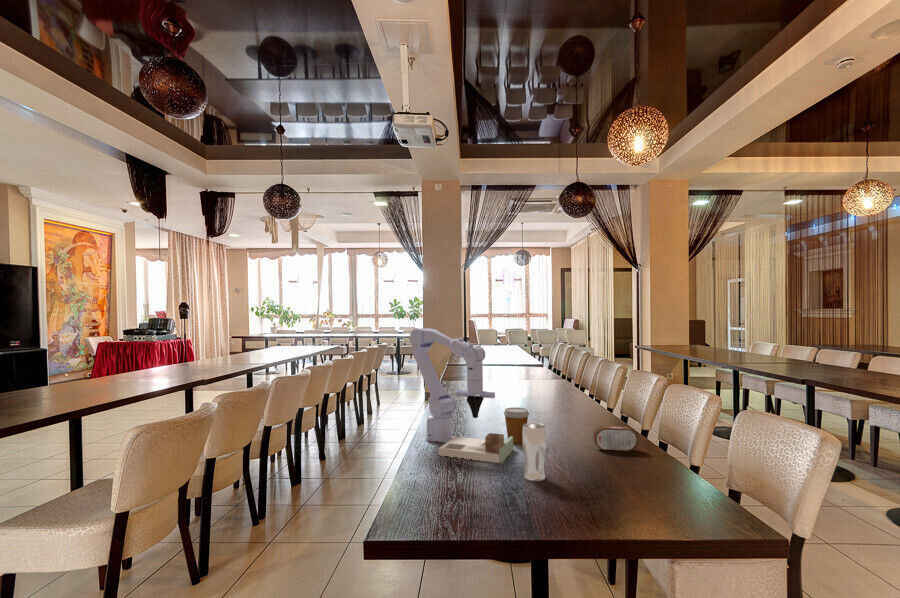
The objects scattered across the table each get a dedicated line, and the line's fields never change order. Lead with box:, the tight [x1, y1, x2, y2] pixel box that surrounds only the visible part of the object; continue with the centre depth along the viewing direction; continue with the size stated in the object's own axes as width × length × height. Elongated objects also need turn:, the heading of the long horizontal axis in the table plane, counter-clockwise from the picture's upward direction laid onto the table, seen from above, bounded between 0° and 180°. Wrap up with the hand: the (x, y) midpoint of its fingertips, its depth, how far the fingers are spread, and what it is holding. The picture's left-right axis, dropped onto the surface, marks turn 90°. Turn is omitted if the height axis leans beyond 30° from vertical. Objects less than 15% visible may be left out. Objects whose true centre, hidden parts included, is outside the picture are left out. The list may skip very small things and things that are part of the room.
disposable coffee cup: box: [503, 407, 530, 445], centre depth 169 cm, size 10×10×12 cm
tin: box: [592, 425, 639, 452], centre depth 159 cm, size 15×3×8 cm, turn 84°
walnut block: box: [484, 432, 505, 454], centre depth 149 cm, size 5×5×5 cm
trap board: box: [438, 436, 514, 464], centre depth 156 cm, size 22×16×4 cm
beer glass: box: [521, 422, 547, 482], centre depth 132 cm, size 7×7×15 cm
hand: (475, 417), depth 163 cm, fingers closed
